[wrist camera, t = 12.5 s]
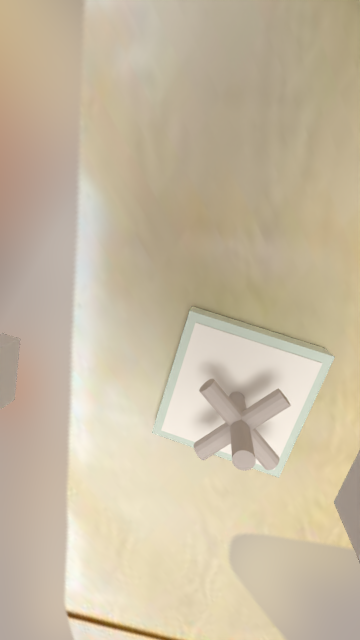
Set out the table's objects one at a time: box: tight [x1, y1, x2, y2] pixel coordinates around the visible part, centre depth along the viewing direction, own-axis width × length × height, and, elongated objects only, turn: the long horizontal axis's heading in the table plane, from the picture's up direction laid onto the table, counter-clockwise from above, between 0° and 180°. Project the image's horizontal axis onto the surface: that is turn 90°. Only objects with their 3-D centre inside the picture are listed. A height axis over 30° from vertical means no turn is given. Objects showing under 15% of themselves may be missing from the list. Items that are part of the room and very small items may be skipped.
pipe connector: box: [194, 379, 291, 470], centre depth 27 cm, size 10×10×10 cm
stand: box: [152, 306, 335, 478], centre depth 34 cm, size 16×16×3 cm
